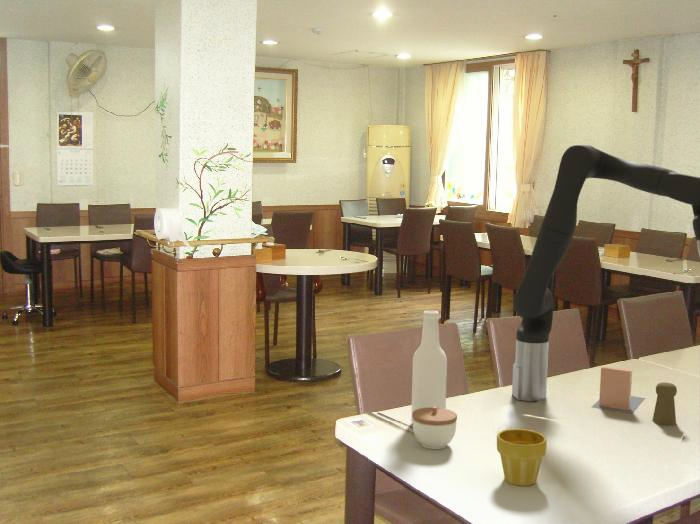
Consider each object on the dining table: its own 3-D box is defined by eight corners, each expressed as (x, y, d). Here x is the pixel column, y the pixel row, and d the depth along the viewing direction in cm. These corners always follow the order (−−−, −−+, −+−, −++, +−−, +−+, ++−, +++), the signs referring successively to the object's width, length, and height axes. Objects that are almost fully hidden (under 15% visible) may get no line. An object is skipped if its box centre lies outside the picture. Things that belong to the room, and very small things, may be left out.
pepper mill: (678, 428, 203) (681, 387, 202) (654, 426, 204) (656, 385, 203) (673, 421, 209) (676, 381, 208) (650, 419, 210) (652, 379, 209)
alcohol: (407, 427, 201) (409, 313, 197) (416, 417, 209) (418, 307, 205) (440, 432, 198) (443, 315, 194) (448, 421, 206) (451, 309, 202)
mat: (631, 415, 213) (631, 413, 213) (591, 408, 219) (591, 407, 219) (645, 399, 228) (645, 398, 228) (606, 393, 234) (606, 392, 234)
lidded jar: (403, 440, 191) (404, 403, 190) (441, 435, 195) (443, 398, 194) (425, 455, 181) (426, 416, 180) (464, 449, 186) (465, 411, 184)
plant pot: (500, 489, 162) (502, 444, 161) (491, 470, 173) (492, 428, 171) (550, 490, 162) (552, 445, 161) (538, 471, 173) (539, 428, 171)
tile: (628, 410, 216) (630, 371, 215) (599, 405, 220) (601, 367, 219) (630, 408, 218) (632, 369, 217) (601, 403, 222) (603, 365, 221)
